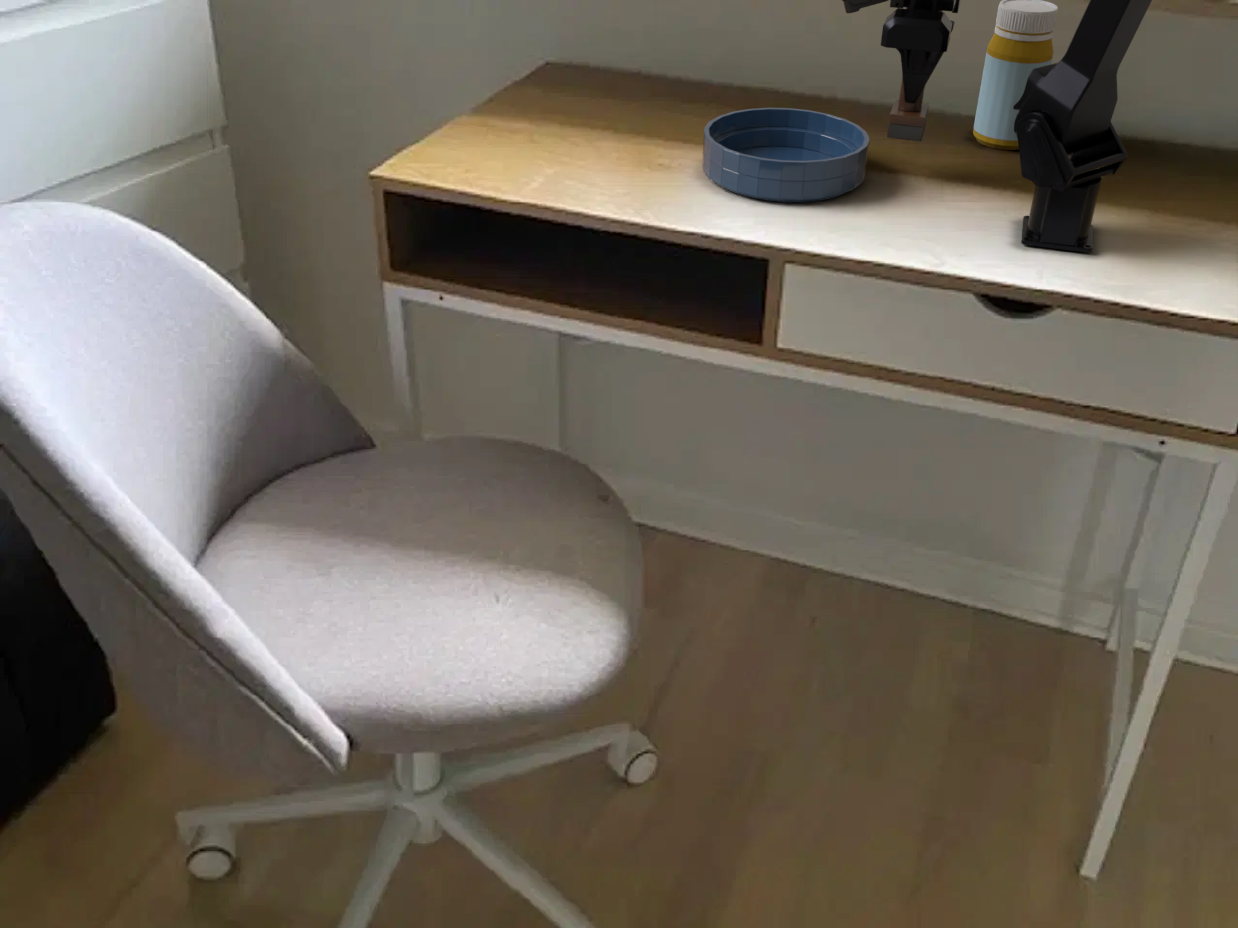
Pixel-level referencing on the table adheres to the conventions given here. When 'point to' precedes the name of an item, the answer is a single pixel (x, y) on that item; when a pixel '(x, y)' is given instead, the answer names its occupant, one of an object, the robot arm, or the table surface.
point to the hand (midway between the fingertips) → (911, 98)
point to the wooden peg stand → (908, 118)
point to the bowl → (785, 154)
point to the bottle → (1012, 67)
